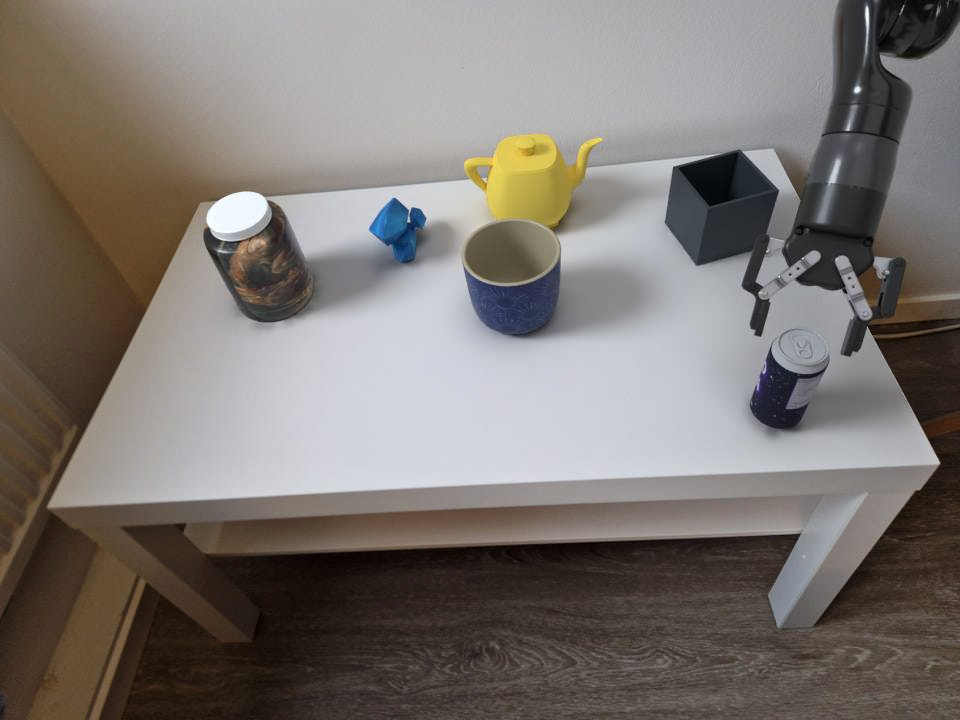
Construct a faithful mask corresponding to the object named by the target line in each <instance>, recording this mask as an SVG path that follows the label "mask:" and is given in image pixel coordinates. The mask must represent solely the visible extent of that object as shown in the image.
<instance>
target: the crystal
mask: <svg viewBox="0 0 960 720" xmlns="http://www.w3.org/2000/svg"><path fill="white" fill-rule="evenodd" d="M426 222H427V216H426V215H425V214H424V212H423V211H422V209H421V208H418V207H414V206H412V207H411V208H410V209H409V208H408V207H406V206H405V204H404V203H402V202H401V201H400V200H399V199H398V198H397V197H391V199H390V200H389V201H388V202H387V203H386V204H385V205H384V206H383V207H382V208H381V209H380V210H379V212H378V213H377V215H376V216H375V218H374V219H373V221H372V223H371V224H370V226H369V228H368V231H369V232H370V233H371V234H372V235H373V236H375V237H376V239H378V240H379V241H380V242H381V243H383V245H385V246H386V247H390V246H391V249H392V253H393V256H394V259H395V260H396V261H398V262H400V263H403V262H407V261H410V260H414V259H415V258H416V252H417V250H416V249H417V241H418V240H417V239H418V232H417V229H420V230H423V229H424V227H425V225H426Z"/></svg>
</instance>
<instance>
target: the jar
mask: <svg viewBox="0 0 960 720" xmlns="http://www.w3.org/2000/svg"><path fill="white" fill-rule="evenodd" d="M202 233H203V234H202V239H203V243H204V247H205V249H206V251H207V252H208V255H209V257H210V259H211V260H212V263H213V264H214V266H215V268H216V270H217V272H218V273H219V276H220V277H221V280H223V282H224V285H225V286H226V288H227V290H228V291H229V293H230V295H231V297H232V298H233V301H234V302H235V304H236V306H237V307H238V309H239V310H240V312H241V313H242V314H243V315H244V316H245V317H246V318H248V319H251V320H252V321H256V322H261V323H271V322H278V321H280V320H285V319H286V318H289V317H291V316H293V315H294V314H296V313H298V312H299V311H301V309H303V308H304V307H305V306H306V305H307V304H308V302H309V301H310V299H311V298H312V296H313V294H314V289H315V281H314V277H313V275H312V273H311V270H310V267H309V265H308V262H307V260H306V257H305V255H304V253H303V250H302V248H301V246H300V242H299V241H298V238H297V235H296V234H295V231H294V229H293V226H292V225H291V223H290V220H289V218H288V216H287V214H286V212H285V211H284V209H283V208H282V207H281V206H280V205H279V204H277V203H276V202H274V201H273V200H270V199H266V197H265V196H264V195H262V194H261V193H259V192H255V191H238V192H234V193H231V194H228V195H226V196H224V197H222V198H220V199H219V200H218V201H216V202H215V203H214V204H213V205H212V206H211V207H210V208H209V210H208V211H207V214H206V224H205V226H204V228H203V232H202Z"/></svg>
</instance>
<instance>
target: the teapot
mask: <svg viewBox="0 0 960 720" xmlns="http://www.w3.org/2000/svg"><path fill="white" fill-rule="evenodd" d="M603 140H604V139H603V138H602V137H596V138H591V139H588V140H586V141H585V142H583V144H582V145H581V146H580V148H579V149H578V153H577V157H576V160H575V162H574V164H572V165H570V166H569V167H568V165H567V162H566V161H565V158H564V156H563V155H562V152H561V151H560V149H559V147H558V145H557V144H556V142H555V140H554V139H553V138H552V137H551V136H549V135H547V134H544V133H528V134H519V135H512V136H508V137H505V138H503V139H502V140H500V141H499V143H498V144H497V146H496V149H495V151H494V154H493V157H481V156H480V157H479V156H477V157H471V158H467V159H466V160H465V161H464V163H463V169H464V173H465V174H466V176H467V177H468V178H469V180H470V181H471V182H472V183H473V184H474V185H476V187H478V188H479V189H480V190H481V191H483V192H484V193H485V198H486V203H487V207H488V209H489V212H490V213H491V215H492V217H494V219H495V221H497V220H501V219H508V218H523V219H529V220H533V221H536V222H539V223H541V224H543V225H545V226H547V227H548V228H550V229H553V228H555V227H557V226H558V225H559V224H560V221H561V219H562V218H563V217H564V216H565V214H566V213H567V211H568V209H569V208H570V204H571V201H572V194H573V191H574V190H575V189H577V188H578V187H579V186H580V185H581V184H582V182H583V181H584V179H585V176H586V174H587V168H588V162H589V156H590V154H591V152H592V150H593V149H594V148H595V147H596V146H597V145H599V144H600V143H601V142H602V141H603ZM481 167H482V168H483V167H488V171H487V176H486V181H485V180H484V179H483V178H482V177H481V175H480V174H479V171H478V170H477V169H478V168H481Z"/></svg>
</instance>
